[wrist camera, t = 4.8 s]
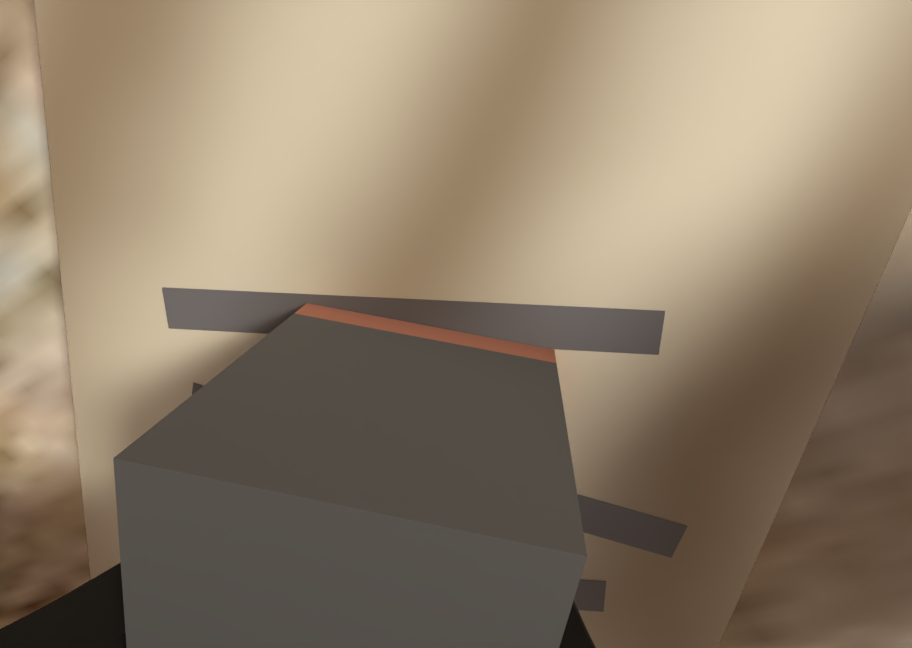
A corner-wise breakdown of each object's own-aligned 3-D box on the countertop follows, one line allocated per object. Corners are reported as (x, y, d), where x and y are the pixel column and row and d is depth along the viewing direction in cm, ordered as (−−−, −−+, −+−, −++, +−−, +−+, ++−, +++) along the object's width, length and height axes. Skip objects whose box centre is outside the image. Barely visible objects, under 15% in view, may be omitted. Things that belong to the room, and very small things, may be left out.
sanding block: (554, 349, 10) (586, 555, 5) (477, 671, 12) (451, 1001, 8) (306, 303, 10) (113, 458, 5) (285, 628, 13) (146, 923, 8)
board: (1035, -220, 7) (1128, -284, 6) (640, 746, 14) (651, 799, 13) (65, -348, 8) (-9, -425, 7) (131, 635, 15) (99, 677, 14)
